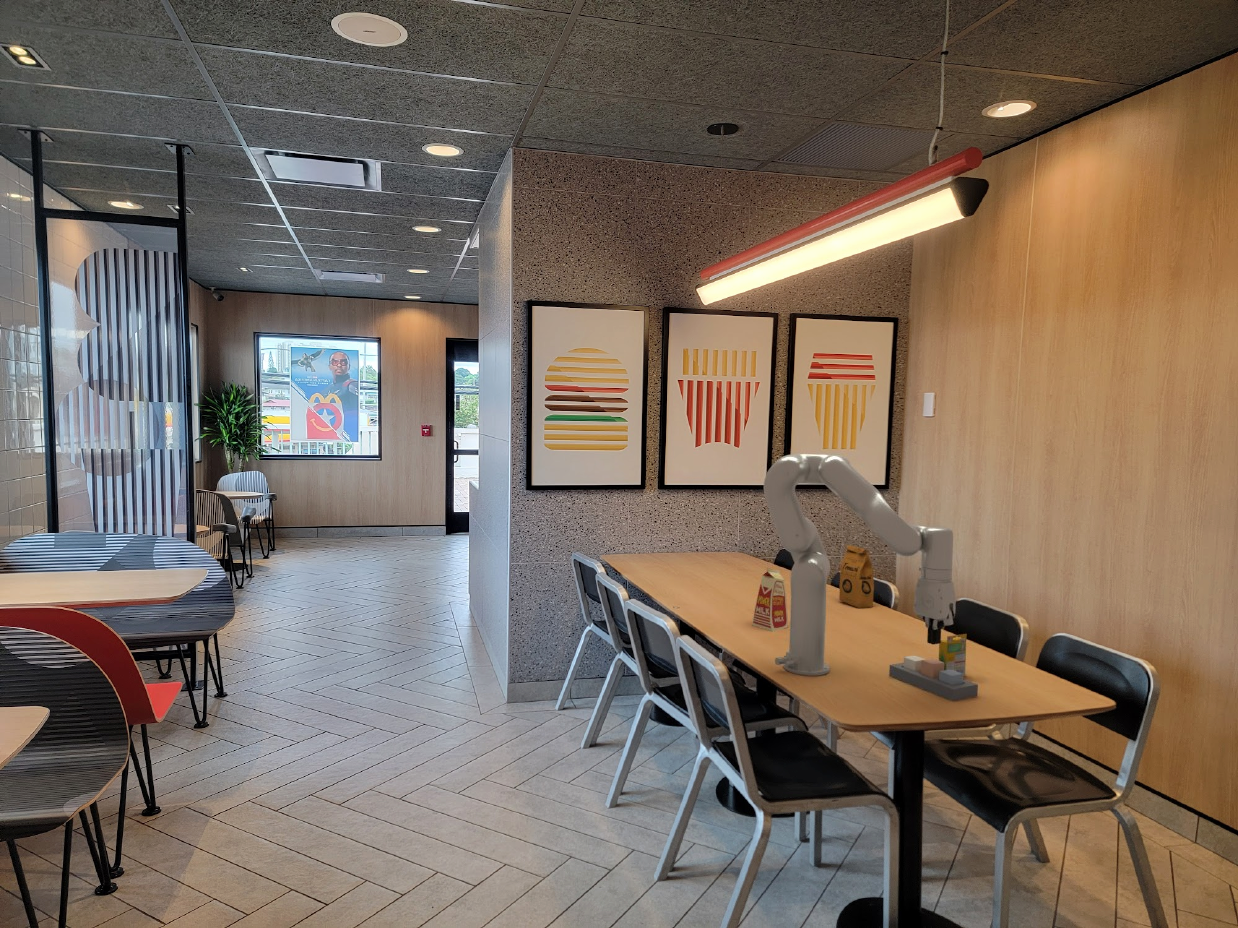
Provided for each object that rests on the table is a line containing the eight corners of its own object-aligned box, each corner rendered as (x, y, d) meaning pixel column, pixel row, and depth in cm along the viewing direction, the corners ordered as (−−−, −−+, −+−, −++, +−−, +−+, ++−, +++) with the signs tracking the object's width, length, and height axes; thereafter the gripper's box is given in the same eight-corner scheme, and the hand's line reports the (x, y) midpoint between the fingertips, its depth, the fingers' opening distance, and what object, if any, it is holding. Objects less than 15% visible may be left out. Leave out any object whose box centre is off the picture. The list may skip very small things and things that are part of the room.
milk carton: (772, 631, 259) (774, 570, 258) (750, 625, 266) (752, 566, 265) (790, 627, 265) (792, 568, 263) (768, 621, 272) (770, 563, 271)
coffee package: (855, 609, 292) (857, 550, 290) (835, 601, 303) (837, 544, 302) (877, 607, 295) (880, 549, 294) (857, 600, 307) (859, 544, 305)
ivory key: (914, 675, 211) (915, 661, 211) (903, 671, 215) (903, 656, 214) (925, 673, 213) (926, 659, 213) (913, 669, 217) (914, 655, 216)
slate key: (951, 691, 200) (952, 675, 200) (938, 686, 204) (939, 671, 204) (962, 689, 202) (963, 673, 202) (949, 684, 206) (950, 669, 206)
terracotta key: (932, 679, 206) (933, 664, 206) (920, 674, 209) (921, 659, 209) (943, 677, 208) (944, 662, 207) (931, 672, 211) (932, 658, 211)
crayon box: (957, 672, 220) (958, 631, 220) (965, 675, 218) (967, 633, 217) (937, 675, 217) (939, 633, 217) (945, 678, 215) (947, 636, 214)
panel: (952, 700, 197) (953, 689, 197) (889, 675, 216) (889, 664, 216) (977, 695, 201) (977, 684, 201) (913, 671, 220) (913, 660, 220)
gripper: (903, 570, 212) (901, 637, 213) (949, 580, 199) (947, 652, 200) (923, 568, 215) (921, 634, 216) (970, 578, 202) (967, 648, 203)
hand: (933, 643), depth 208 cm, fingers closed
